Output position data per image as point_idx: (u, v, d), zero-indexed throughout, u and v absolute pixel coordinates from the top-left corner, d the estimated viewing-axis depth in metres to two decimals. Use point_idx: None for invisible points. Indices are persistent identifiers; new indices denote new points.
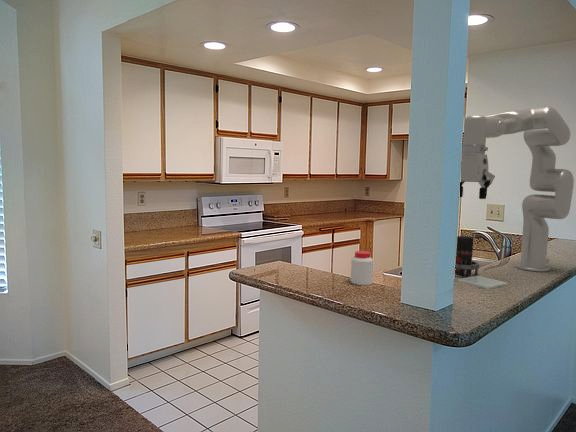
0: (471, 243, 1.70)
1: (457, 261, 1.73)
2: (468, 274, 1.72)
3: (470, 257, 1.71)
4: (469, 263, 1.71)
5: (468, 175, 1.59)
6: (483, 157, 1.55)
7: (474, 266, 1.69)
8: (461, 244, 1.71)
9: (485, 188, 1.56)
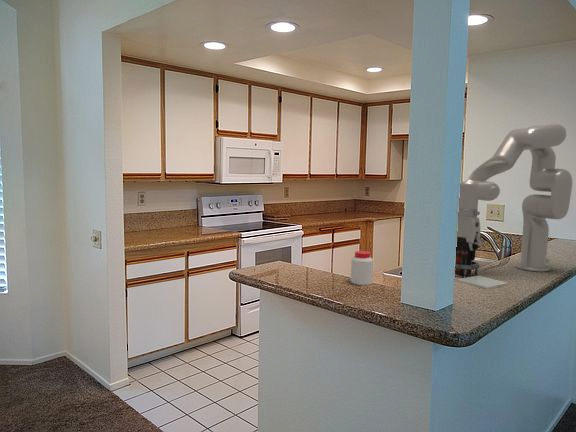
0: None
1: (457, 261, 1.73)
2: (468, 274, 1.72)
3: None
4: (469, 263, 1.71)
5: (461, 236, 1.71)
6: (475, 221, 1.68)
7: (474, 266, 1.69)
8: (461, 244, 1.71)
9: (473, 251, 1.69)
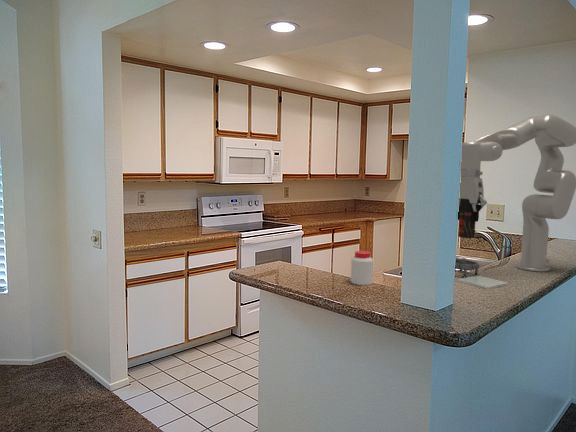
0: None
1: (460, 223, 1.71)
2: (472, 236, 1.70)
3: None
4: (473, 224, 1.70)
5: (464, 197, 1.70)
6: (478, 181, 1.66)
7: (474, 266, 1.69)
8: (464, 206, 1.69)
9: (477, 212, 1.68)
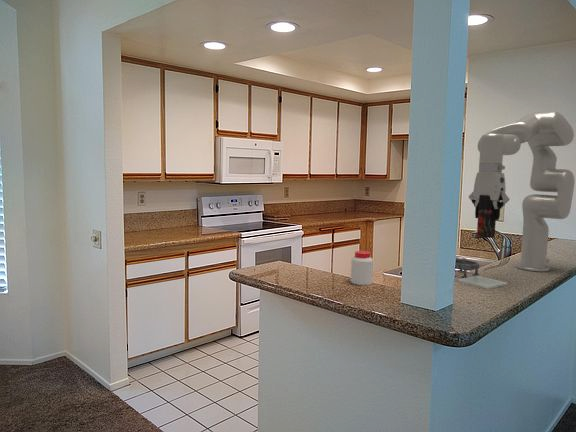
0: None
1: (479, 221, 1.58)
2: (492, 235, 1.57)
3: None
4: (493, 223, 1.57)
5: (484, 193, 1.57)
6: (500, 176, 1.53)
7: (474, 266, 1.69)
8: (484, 203, 1.56)
9: (498, 209, 1.55)
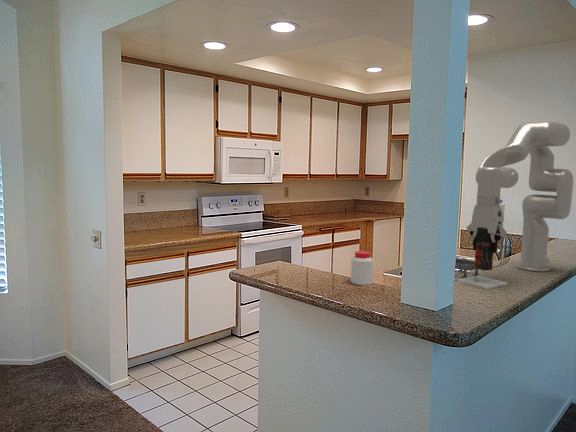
0: None
1: (477, 254, 1.59)
2: (489, 268, 1.58)
3: None
4: (490, 256, 1.58)
5: (482, 226, 1.58)
6: (498, 209, 1.54)
7: None
8: (482, 235, 1.57)
9: (495, 242, 1.56)
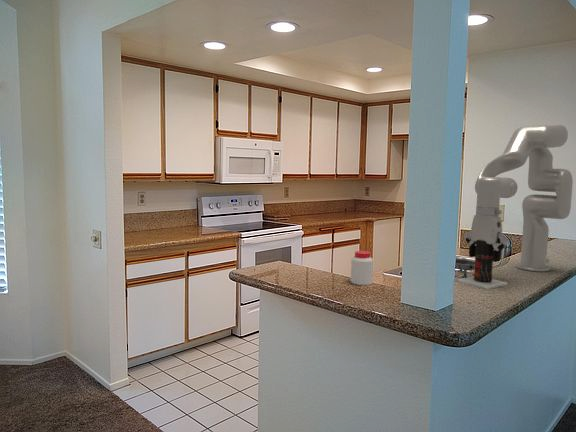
0: (492, 246, 1.58)
1: (476, 266, 1.60)
2: (489, 280, 1.59)
3: (491, 262, 1.58)
4: (490, 268, 1.58)
5: (481, 236, 1.58)
6: (497, 220, 1.55)
7: (474, 266, 1.69)
8: (481, 248, 1.58)
9: (499, 251, 1.55)
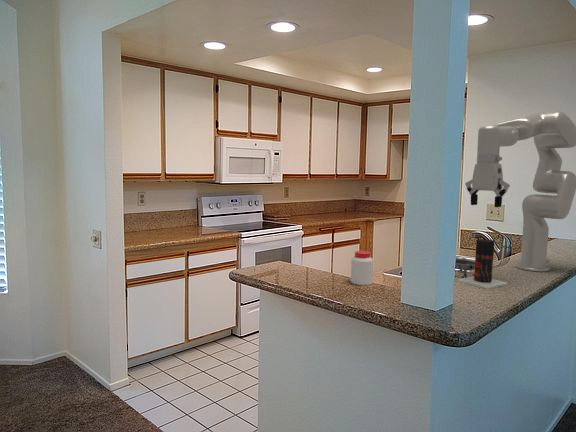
0: (492, 247, 1.58)
1: (477, 266, 1.60)
2: (489, 280, 1.59)
3: (491, 262, 1.58)
4: (490, 268, 1.58)
5: (483, 184, 1.63)
6: (498, 166, 1.60)
7: (474, 266, 1.69)
8: (481, 248, 1.58)
9: (500, 197, 1.60)
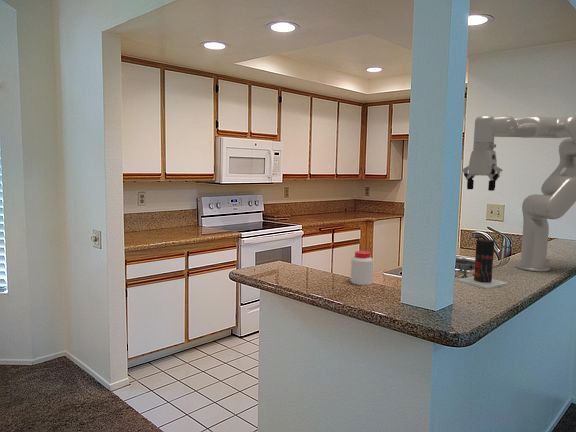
0: (492, 247, 1.58)
1: (477, 266, 1.60)
2: (489, 280, 1.59)
3: (491, 262, 1.58)
4: (490, 268, 1.58)
5: (478, 169, 1.77)
6: (492, 153, 1.74)
7: (474, 266, 1.69)
8: (481, 248, 1.58)
9: (494, 181, 1.74)
